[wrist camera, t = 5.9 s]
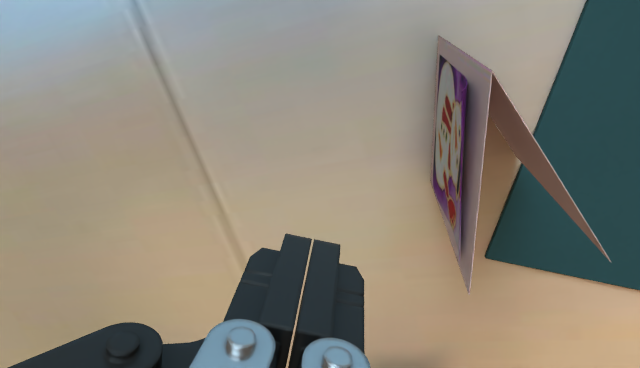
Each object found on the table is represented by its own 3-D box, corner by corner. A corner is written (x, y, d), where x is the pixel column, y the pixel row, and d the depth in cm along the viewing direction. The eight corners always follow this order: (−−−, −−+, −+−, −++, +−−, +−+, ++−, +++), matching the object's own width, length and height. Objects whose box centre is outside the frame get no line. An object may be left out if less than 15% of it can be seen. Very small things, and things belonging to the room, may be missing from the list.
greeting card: (426, 35, 33) (470, 71, 19) (533, 31, 32) (659, 65, 18) (419, 181, 37) (452, 294, 24) (513, 180, 37) (603, 297, 23)
